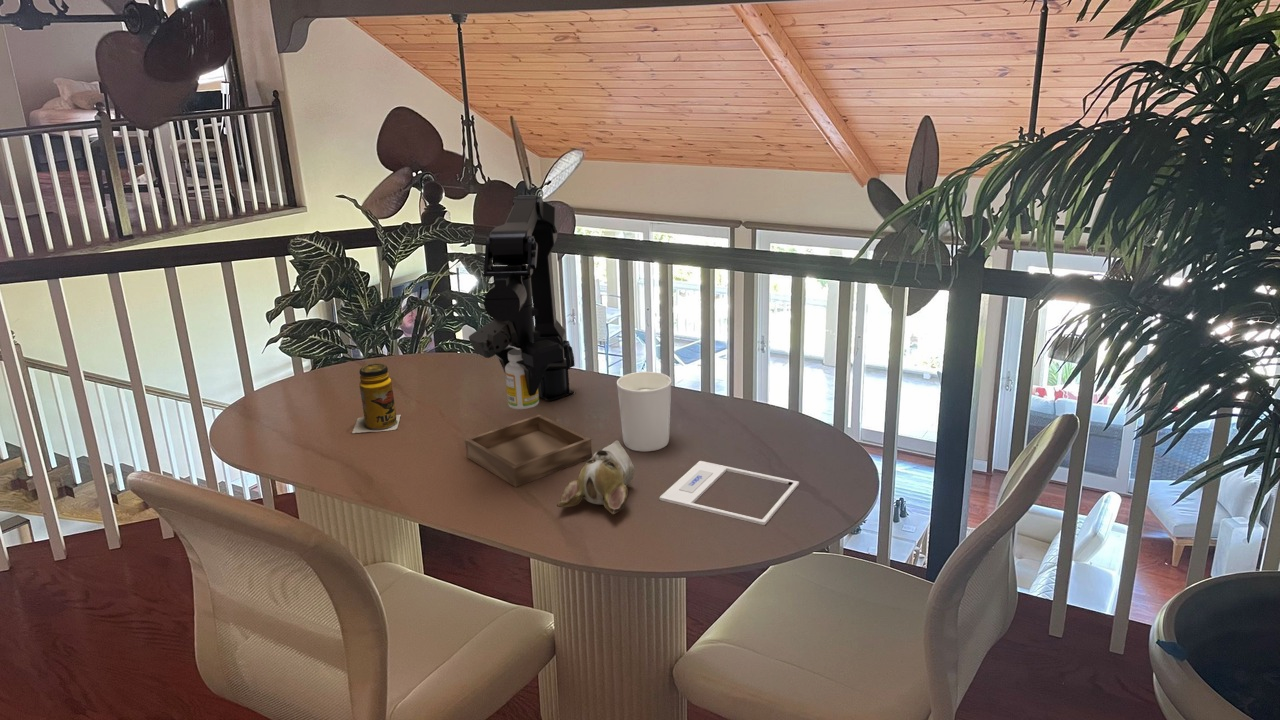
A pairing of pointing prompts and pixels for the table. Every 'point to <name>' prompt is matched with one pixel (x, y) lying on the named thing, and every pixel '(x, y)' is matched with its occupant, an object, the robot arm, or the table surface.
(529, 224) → the robot arm
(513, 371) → the supplement bottle
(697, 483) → the photo frame
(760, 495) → the table surface
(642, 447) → the candle holder
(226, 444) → the table surface
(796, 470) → the table surface
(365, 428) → the condiment
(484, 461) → the box
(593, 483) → the ceramic sculpture
